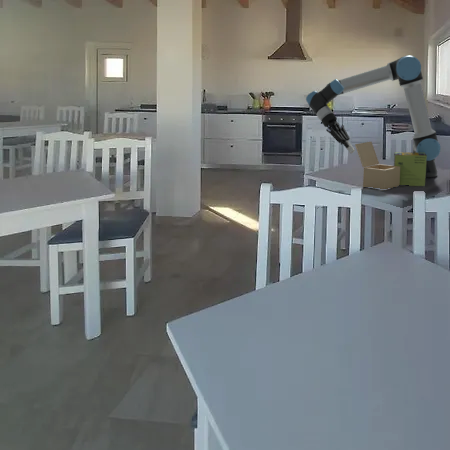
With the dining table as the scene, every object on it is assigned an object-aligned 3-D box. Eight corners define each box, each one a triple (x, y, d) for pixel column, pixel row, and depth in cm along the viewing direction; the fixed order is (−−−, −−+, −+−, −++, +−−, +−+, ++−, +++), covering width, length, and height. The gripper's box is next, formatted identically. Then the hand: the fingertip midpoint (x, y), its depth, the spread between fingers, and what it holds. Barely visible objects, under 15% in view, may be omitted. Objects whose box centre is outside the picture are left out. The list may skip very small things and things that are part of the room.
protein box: (425, 186, 321) (427, 155, 317) (393, 185, 324) (394, 154, 320) (423, 182, 331) (425, 152, 327) (392, 181, 334) (393, 152, 330)
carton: (378, 183, 330) (379, 164, 327) (399, 186, 321) (400, 166, 319) (362, 187, 320) (363, 167, 318) (384, 190, 312) (385, 170, 309)
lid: (379, 163, 327) (378, 164, 328) (371, 141, 328) (370, 141, 328) (363, 167, 318) (362, 167, 318) (355, 144, 318) (354, 144, 319)
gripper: (330, 120, 342) (355, 155, 335) (315, 122, 333) (340, 158, 326) (338, 111, 337) (364, 145, 330) (323, 113, 328) (349, 148, 321)
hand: (352, 151), depth 328 cm, fingers closed
